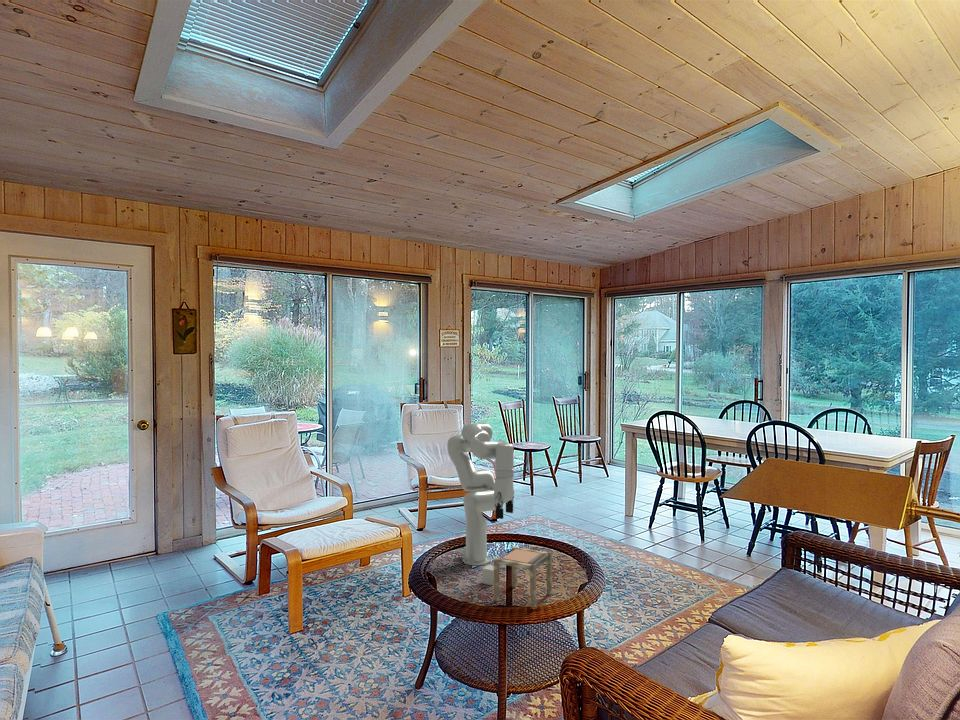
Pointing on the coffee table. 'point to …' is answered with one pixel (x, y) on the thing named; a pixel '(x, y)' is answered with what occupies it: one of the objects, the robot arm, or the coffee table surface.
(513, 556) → the trapdoor
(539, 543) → the coffee table surface
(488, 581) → the smooth gray block
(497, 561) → the trapdoor frame
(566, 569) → the coffee table surface
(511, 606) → the coffee table surface
